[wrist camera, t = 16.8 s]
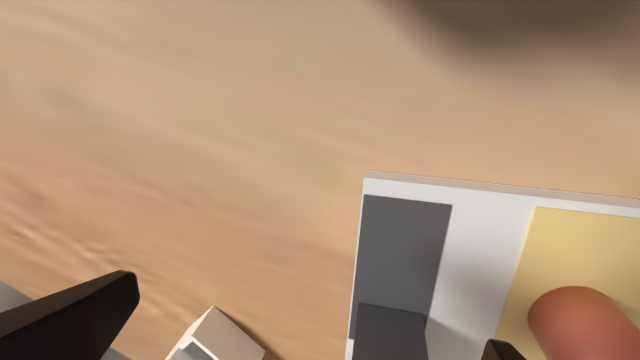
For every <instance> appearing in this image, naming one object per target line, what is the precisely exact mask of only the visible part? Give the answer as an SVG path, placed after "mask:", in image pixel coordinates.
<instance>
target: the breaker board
mask: <svg viewBox="0 0 640 360" xmlns="http://www.w3.org/2000/svg"><path fill="white" fill-rule="evenodd" d="M565 286H584V287H589V288H592V289H595V290H598V291H600V292H602V293H603V294H605V295H606V296H607V297H609V298H610V300H611V301H612V302H613V303H614V304H615V305H616V306H617V307H618V308H619V309H620V310H621V311H622V312H623V313H624V314H625V315H626V316H627V317H628V318H629V319H630V320H631V321H632V322H633V323H634V325H635V326H636V327H637V328H638V329H639V330H640V199H633V198H624V197H615V196H606V195H596V194H587V193H578V192H569V191H559V190H550V189H541V188H532V187H522V186H513V185H504V184H495V183H485V182H476V181H467V180H458V179H449V178H439V177H430V176H421V175H412V174H402V173H393V172H384V171H375V170H365V175H364V182H363V192H362V201H361V211H360V220H359V230H358V239H357V249H356V258H355V268H354V278H353V287H352V297H351V306H350V316H349V325H348V335H347V344H346V354H345V360H352V353H353V345H354V337H355V328H356V320H357V312H358V303H362V304H368V305H373V306H379V307H384V308H390V309H396V310H401V311H407V312H412V313H418V314H422V317H423V324H424V331H425V338H426V345H427V352H428V359H429V360H481V358H482V354H483V351H484V348H485V345H486V342H487V340H488V339H497V340H503V341H507V342H509V343H510V344H512V345H513V346H514V347H515V348H516V349H517V350H518V351H519V352H520V353H521V354H522V355H523V356H524V357H525V358H526V359H527V360H547V359H546V357H545V355H544V353H543V352H542V350H541V348H540V346H539V344H538V342H537V341H536V339H535V337H534V335H533V333H532V331H531V330H530V328H529V325H528V313H529V310H530V308H531V306H532V304H533V303H534V302H535V301H536V300H537V299H538V298H539V297H540V296H542V295H543V294H545V293H547V292H549V291H551V290H553V289H557V288H560V287H565Z"/></svg>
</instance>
